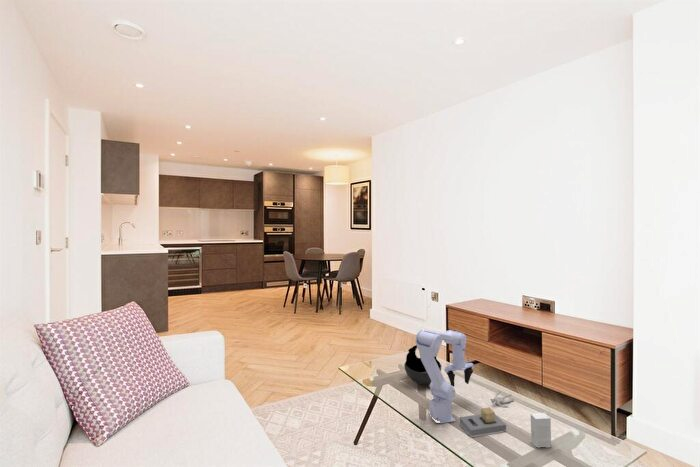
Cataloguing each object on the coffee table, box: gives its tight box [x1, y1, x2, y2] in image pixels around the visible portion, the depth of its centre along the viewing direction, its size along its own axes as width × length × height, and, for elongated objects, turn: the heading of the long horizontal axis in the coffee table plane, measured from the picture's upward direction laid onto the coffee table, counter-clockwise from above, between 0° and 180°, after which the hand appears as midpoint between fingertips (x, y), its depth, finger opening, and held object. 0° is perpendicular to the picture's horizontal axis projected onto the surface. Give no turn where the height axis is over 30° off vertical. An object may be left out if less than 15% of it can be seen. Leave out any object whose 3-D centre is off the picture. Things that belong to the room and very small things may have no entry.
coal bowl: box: [403, 344, 442, 386], centre depth 203 cm, size 20×20×19 cm
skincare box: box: [530, 412, 552, 448], centre depth 146 cm, size 6×4×12 cm
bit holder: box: [459, 413, 507, 438], centre depth 159 cm, size 16×10×3 cm, turn 100°
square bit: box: [480, 407, 496, 425], centre depth 160 cm, size 4×4×7 cm
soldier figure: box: [490, 390, 515, 408], centre depth 178 cm, size 8×5×12 cm
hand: (459, 384), depth 178 cm, fingers open, 7 cm apart
